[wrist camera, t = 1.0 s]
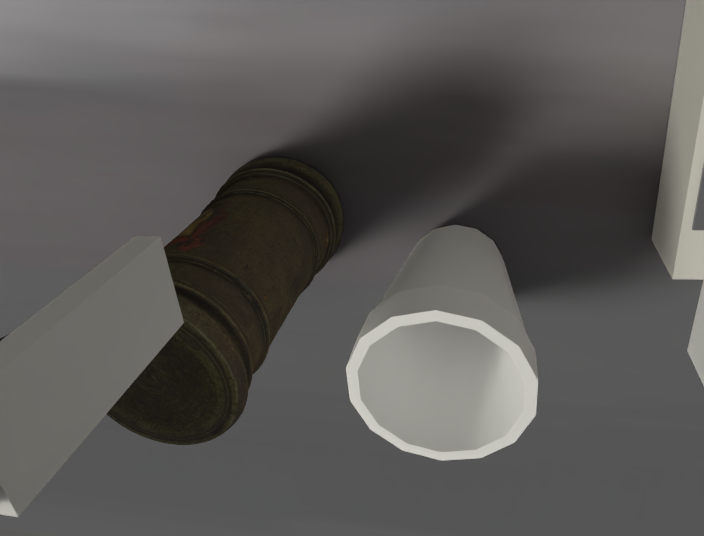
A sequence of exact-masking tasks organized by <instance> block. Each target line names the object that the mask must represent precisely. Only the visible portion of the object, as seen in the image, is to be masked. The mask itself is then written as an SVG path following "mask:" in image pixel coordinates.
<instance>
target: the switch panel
mask: <svg viewBox="0 0 704 536" xmlns="http://www.w3.org/2000/svg"><path fill="white" fill-rule="evenodd" d="M651 240H652V242H653V244H654V245H655V247H656V249H657V251H658V253H659V255H660V257H661V259H662V261H663V262H664V264H665V266H666V268H667V270H668V272H669V274H670V276H671V277H672V279H704V0H686V6H685V13H684V20H683V27H682V33H681V40H680V47H679V54H678V61H677V68H676V75H675V81H674V88H673V95H672V102H671V109H670V116H669V122H668V129H667V136H666V143H665V150H664V157H663V163H662V170H661V177H660V184H659V191H658V198H657V205H656V211H655V218H654V225H653V232H652V239H651Z"/></svg>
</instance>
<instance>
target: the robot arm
mask: <svg viewBox="0 0 704 536" xmlns="http://www.w3.org/2000/svg"><path fill="white" fill-rule="evenodd" d="M183 323H184V321H183V317H182V314H181V310H180V306H179V303H178V299H177V295H176V291H175V288H174V284H173V280H172V277H171V273H170V269H169V266H168V262H167V258H166V255H165V251H164V247H163V244H162V240H161V236H135V237H133V238H132V239H131V240H130V241H128V242H127V243H126V244H124V245H123V246H122V247H121V248H119V249H118V250H117V251H115V252H114V253H113V254H112V255H110V256H109V257H108V258H106V259H105V260H104V261H103V262H101V263H100V264H99V265H97V266H96V267H95V268H94V269H92V270H91V271H90V272H88V273H87V274H86V275H85V276H83V277H82V278H81V279H79V280H78V281H77V282H76V283H74V284H73V285H72V286H70V287H69V288H68V289H67V290H65V291H64V292H63V293H61V294H60V295H59V296H58V297H56V298H55V299H54V300H52V301H51V302H50V303H49V304H47V305H46V306H45V307H43V308H42V309H41V310H40V311H38V312H37V313H36V314H34V315H33V316H32V317H31V318H29V319H28V320H27V321H26V322H24V323H23V324H22V325H20V326H19V327H18V328H17V329H15V330H14V331H13V332H11V333H10V334H8V335H6V336H4V337H3V338H1V339H0V514H2V515H8V516H15V517H19V516H20V514H21V513H22V512H23V511H24V510H25V509H26V507H27V506H28V505H29V504H30V503H31V502H32V500H33V499H34V498H35V497H36V496H37V495H38V493H39V492H40V491H41V490H42V489H43V488H44V486H45V485H46V484H47V483H48V482H49V480H50V479H51V478H52V477H53V476H54V475H55V473H56V472H57V471H58V470H59V469H60V468H61V466H62V465H63V464H64V463H65V462H66V461H67V459H68V458H69V457H70V456H71V455H72V453H73V452H74V451H75V450H76V449H77V448H78V446H79V445H80V444H81V443H82V442H83V441H84V439H85V438H86V437H87V436H88V435H89V434H90V432H91V431H92V430H93V429H94V428H95V426H96V425H97V424H98V423H99V422H100V421H101V419H102V418H103V417H104V416H105V415H106V414H107V412H108V411H109V410H110V409H111V408H112V407H113V405H114V404H115V403H116V402H117V401H118V399H119V398H120V397H121V396H122V395H123V394H124V392H125V391H126V390H127V389H128V388H129V387H130V385H131V384H132V383H133V382H134V381H135V380H136V378H137V377H138V376H139V375H140V374H141V373H142V371H143V370H144V369H145V368H146V367H147V365H148V364H149V363H150V362H151V361H152V360H153V358H154V357H155V356H156V355H157V354H158V353H159V351H160V350H161V349H162V348H163V347H164V346H165V344H166V343H167V342H168V341H169V340H170V338H171V337H172V336H173V335H174V334H175V333H176V331H177V330H178V329H179V328H180V327H181V326H182V324H183ZM687 351H688V353H689V356H690V358H691V360H692V362H693V364H694V366H695V368H696V370H697V372H698V375H699V377H700V379H701V381H702V383H703V385H704V280H703V285H702V289H701V293H700V298H699V302H698V306H697V311H696V315H695V319H694V324H693V328H692V332H691V337H690V341H689V345H688V350H687Z"/></svg>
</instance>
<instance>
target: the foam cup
mask: <svg viewBox="0 0 704 536" xmlns="http://www.w3.org/2000/svg"><path fill="white" fill-rule="evenodd" d="M346 373H347V381H348V388H349V396H350V401H351V403H352V404H353V405H354V407H355V408H356V410H357V411H358V413H359V414H360V415H361V417H362V418H363V420H364V421H365V422H366V424H367V425H368V427H369V428H370V429H371V430H372V431H374V432H375V433H377V434H378V435H380V436H381V437H383V438H384V439H386V440H387V441H389V442H390V443H392V444H394V445H395V446H397V447H398V448H400V449H401V450H403V451H407V452H411V453H415V454H418V455H422V456H426V457H430V458H434V459H437V460H457V459H473V458H482V457H484V456H486V455H488V454H491V453H493V452H495V451H497V450H499V449H501V448H504V447H506V446H508V445H510V444H512V443H514V442H515V441H516V440H517V439H518V437H519V436H520V435H521V434H522V432H523V431H524V430H525V428H526V427H527V426H528V425H529V423H530V422H531V421H532V419H533V418H534V417H535V416H536V405H537V390H538V373H537V362H536V351H535V349H534V347H533V345H532V343H531V341H530V340H529V338H528V336H527V334H526V332H525V328H524V325H523V322H522V319H521V315H520V312H519V309H518V306H517V302H516V299H515V296H514V292H513V289H512V286H511V283H510V279H509V276H508V273H507V270H506V266H505V263H504V261H503V258H502V256H501V254H500V252H499V250H498V248H497V246H496V245H495V243H494V241H493V240H492V239H490V238H489V237H487V236H486V235H485V234H483V233H482V232H480V231H479V230H478V229H475V228H470V227H465V226H460V225H451V226H446V227H441V228H436V229H434V230H432V231H431V232H430V233H428V234H427V235H426V236H424V237H423V238H422V239H420V240H419V241H418V243H417V244H416V246H415V247H414V249H413V250H412V252H411V254H410V255H409V257H408V258H407V260H406V262H405V263H404V265H403V266H402V268H401V270H400V271H399V273H398V274H397V276H396V278H395V279H394V281H393V282H392V284H391V286H390V287H389V289H388V290H387V292H386V294H385V295H384V297H383V298H382V300H381V302H380V303H379V305H378V306H377V307H376V308H375V309H373V310H372V311H370V312H369V314H368V316H367V319H366V321H365V323H364V325H363V327H362V329H361V331H360V334H359V336H358V338H357V340H356V342H355V345H354V348H353V350H352V353H351V356H350V359H349V361H348V364H347V367H346Z"/></svg>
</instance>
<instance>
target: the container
mask: <svg viewBox="0 0 704 536" xmlns="http://www.w3.org/2000/svg"><path fill="white" fill-rule="evenodd" d="M342 231H343V213H342V207H341V203H340V200H339V198H338V195H337V193H336V191H335V190H334V188H333V187H332V185H331V184H330V183H329V182H328V180H327V179H326V178H325V177H324V176H323V175H321V174H320V173H319V172H317V171H316V170H314V169H313V168H311V167H310V166H308V165H306V164H304V163H301V162H299V161H296V160H293V159H288V158H278V157H272V158H263V159H259V160H255V161H252V162H250V163H248V164H246V165H244V166H242V167H241V168H239V169H238V170H237V171H235V172H234V173H233V174H232V175H231V177H230V178H229V179H228V180H227V182H226V183H225V184H224V185H223V186H222V187H221V188H220V190H219V191H218V193H217V195H216V197H215V199H214V200H212V201H211V202H210V204H209V205H207V206H206V208H205V209H204V210H203V211H202V213H201V215H200V216H199V217H198V218H197V219H196V220H195V221H194V222H193V223H191V224H190V225H189V226H188V227H187V228H186V229H185V230H184V231H182V232H181V233H180V234H179V235H178V236H177V237H176V238H174V239H173V240H172V241H171V242H170V243H168V245H166V246H165V247H164V251H165V255H166V258H167V262H168V266H169V269H170V273H171V277H172V280H173V284H174V288H175V291H176V295H177V299H178V303H179V306H180V310H181V314H182V317H183V321H184V323H183V324H182V326H181V327H180V328H179V329H178V330H177V331H176V333H175V334H174V335H173V336H172V337H171V338H170V340H169V341H168V342H167V343H166V344H165V346H164V347H163V348H162V349H161V350H160V351H159V353H158V354H157V355H156V356H155V357H154V358H153V360H152V361H151V362H150V363H149V364H148V365H147V367H146V368H145V369H144V370H143V371H142V373H141V374H140V375H139V376H138V377H137V378H136V380H135V381H134V382H133V383H132V384H131V385H130V387H129V388H128V389H127V390H126V391H125V392H124V394H123V395H122V396H121V397H120V398H119V399H118V401H117V402H116V403H115V404H114V405H113V407H112V408H111V409H110V410H109V411H108V412H107V415H108V416H109V417H111V418H112V419H113V420H115V421H116V422H117V423H119V424H120V425H122V426H124V427H125V428H127V429H129V430H130V431H132V432H134V433H136V434H139V435H141V436H143V437H146V438H149V439H152V440H155V441H159V442H163V443H168V444H176V445H191V444H198V443H203V442H206V441H209V440H212V439H214V438H216V437H218V436H220V435H221V434H223V433H224V432H225V431H227V430H228V429H229V428H230V427H231V426H232V425H233V424H234V423H235V422H236V421H237V420H238V419H239V417H240V415H241V414H242V412H243V410H244V407H245V405H246V401H247V396H248V389H249V387H250V384H251V380H252V374H254V373H255V372H256V371H257V370H258V369H259V368H260V366H261V365H262V364H263V362H264V360H265V358H266V356H267V353H268V350H269V346H270V344H271V343H272V341H273V339H274V337H275V336H276V334H277V332H278V330H279V329H280V327H281V326H282V324H283V322H284V320H285V319H286V317H287V315H288V313H289V312H290V310H291V308H292V307H293V305H294V303H295V302H296V300H297V298H298V297H299V295H300V294H301V293H302V292H303V291H304V290H305V289H306V288H307V287H308V286H309V284H310V283H311V281H312V280H313V278H314V276H315V275H316V274H317V273H318V272H319V271H320V270H321V269H322V268H323V267H324V266H325V264H326V263H327V262H328V260H329V259H330V258H331V257H332V256H333V254H334V253H335V251H336V249H337V247H338V245H339V242H340V239H341V236H342Z"/></svg>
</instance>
